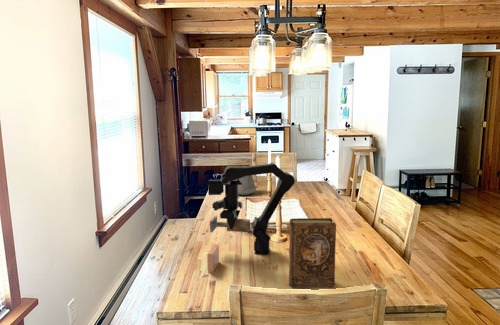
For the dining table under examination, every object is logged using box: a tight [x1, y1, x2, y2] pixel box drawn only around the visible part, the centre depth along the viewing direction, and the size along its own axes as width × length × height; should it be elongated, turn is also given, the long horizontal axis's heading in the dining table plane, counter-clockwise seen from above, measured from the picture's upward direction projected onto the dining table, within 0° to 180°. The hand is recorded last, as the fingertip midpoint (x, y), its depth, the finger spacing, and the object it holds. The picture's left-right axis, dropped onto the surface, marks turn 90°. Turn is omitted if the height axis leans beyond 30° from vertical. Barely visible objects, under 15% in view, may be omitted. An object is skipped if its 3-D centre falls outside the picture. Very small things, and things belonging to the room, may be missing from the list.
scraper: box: [209, 215, 251, 233], centre depth 167 cm, size 17×8×5 cm, turn 80°
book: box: [288, 217, 337, 289], centre depth 138 cm, size 16×6×25 cm, turn 92°
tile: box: [206, 244, 220, 274], centre depth 154 cm, size 2×10×8 cm, turn 170°
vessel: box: [236, 165, 258, 196], centre depth 277 cm, size 22×22×20 cm
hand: (232, 228), depth 167 cm, fingers closed on scraper, 3 cm apart
